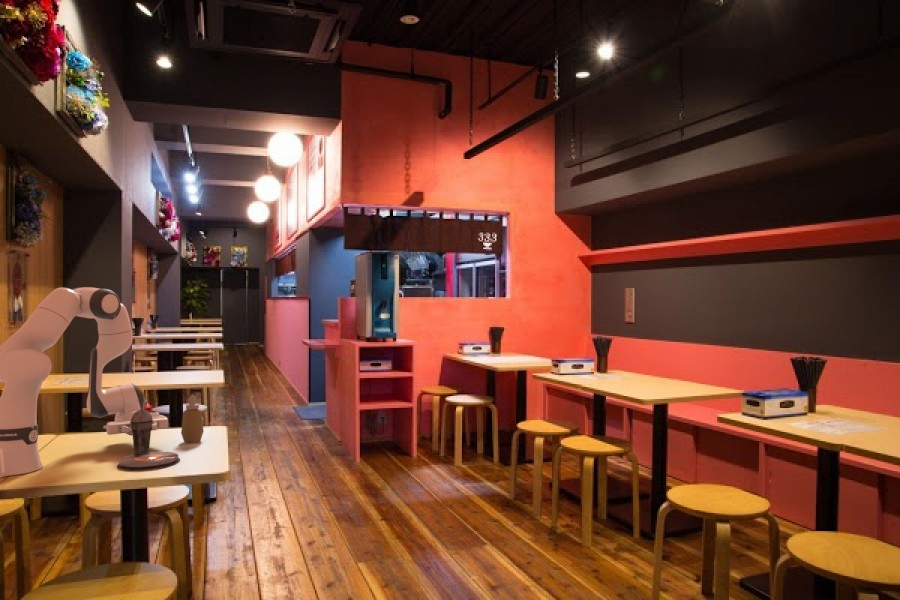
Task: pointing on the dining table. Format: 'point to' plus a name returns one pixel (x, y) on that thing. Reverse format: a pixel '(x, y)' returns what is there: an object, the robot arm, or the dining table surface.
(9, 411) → the robot arm
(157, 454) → the dark round disc
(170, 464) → the base
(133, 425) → the beverage cup
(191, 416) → the squeeze bottle
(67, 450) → the dining table surface
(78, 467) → the dining table surface
